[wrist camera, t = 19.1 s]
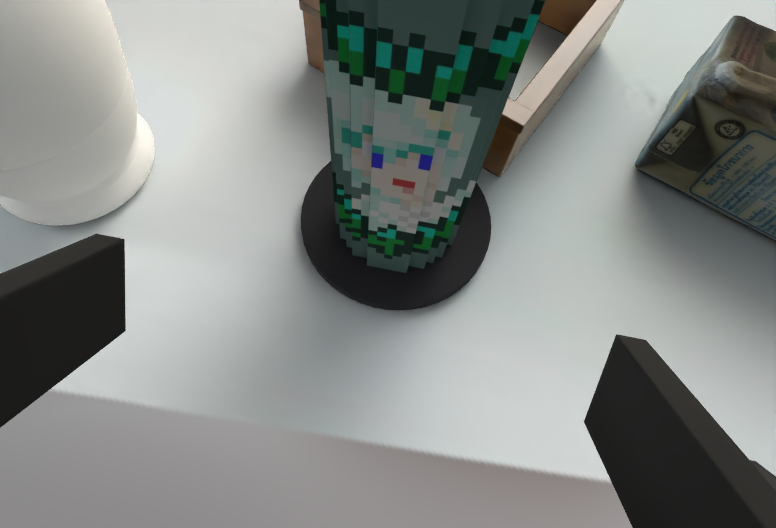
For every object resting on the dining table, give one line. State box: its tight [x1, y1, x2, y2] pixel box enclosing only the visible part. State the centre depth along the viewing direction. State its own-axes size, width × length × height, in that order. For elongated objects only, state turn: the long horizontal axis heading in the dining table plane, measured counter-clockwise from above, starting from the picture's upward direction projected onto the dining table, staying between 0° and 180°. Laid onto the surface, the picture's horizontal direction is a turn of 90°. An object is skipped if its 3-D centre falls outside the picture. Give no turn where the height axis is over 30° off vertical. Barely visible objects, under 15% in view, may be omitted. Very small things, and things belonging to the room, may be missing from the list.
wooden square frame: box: [299, 0, 624, 177], centre depth 30 cm, size 14×14×4 cm
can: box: [319, 0, 545, 273], centre depth 19 cm, size 6×6×15 cm
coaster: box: [301, 161, 491, 310], centre depth 26 cm, size 10×10×1 cm
